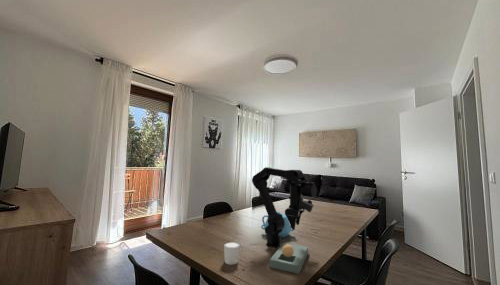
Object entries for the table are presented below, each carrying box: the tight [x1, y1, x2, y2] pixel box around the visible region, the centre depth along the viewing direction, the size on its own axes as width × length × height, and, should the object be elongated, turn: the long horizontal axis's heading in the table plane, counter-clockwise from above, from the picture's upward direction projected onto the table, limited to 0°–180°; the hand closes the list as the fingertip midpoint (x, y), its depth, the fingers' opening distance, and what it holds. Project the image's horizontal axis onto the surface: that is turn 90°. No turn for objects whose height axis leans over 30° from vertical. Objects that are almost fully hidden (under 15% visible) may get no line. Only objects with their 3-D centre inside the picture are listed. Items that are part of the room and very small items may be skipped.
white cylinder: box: [223, 241, 241, 266], centre depth 93 cm, size 7×7×7 cm
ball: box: [282, 244, 294, 257], centre depth 92 cm, size 5×5×5 cm
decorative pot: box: [260, 211, 295, 238], centre depth 131 cm, size 16×16×14 cm
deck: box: [269, 242, 309, 275], centre depth 96 cm, size 12×22×3 cm, turn 156°
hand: (295, 227), depth 105 cm, fingers open, 9 cm apart
